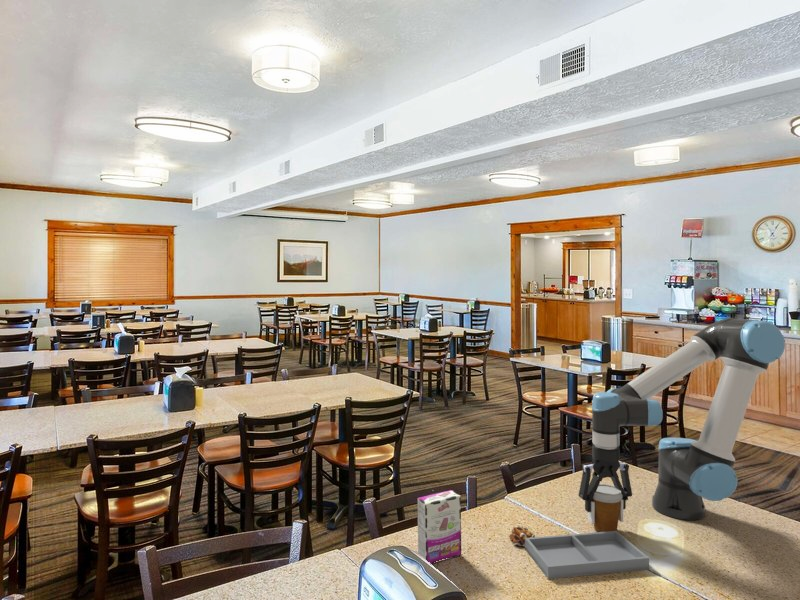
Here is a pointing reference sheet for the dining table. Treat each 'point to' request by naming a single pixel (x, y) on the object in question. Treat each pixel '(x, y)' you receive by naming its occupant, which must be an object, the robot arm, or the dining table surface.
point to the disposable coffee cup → (607, 507)
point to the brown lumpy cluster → (520, 535)
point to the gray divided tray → (585, 554)
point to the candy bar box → (439, 526)
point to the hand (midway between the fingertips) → (605, 520)
